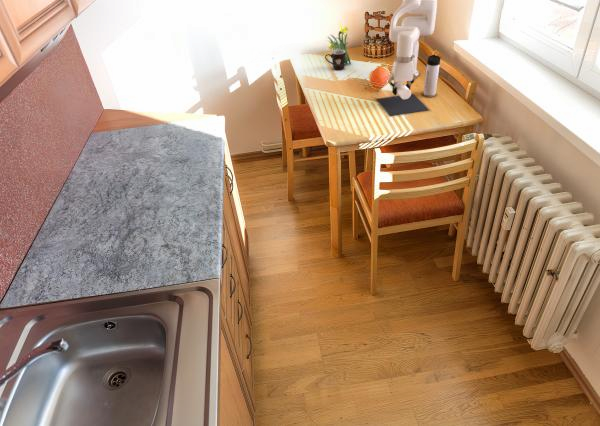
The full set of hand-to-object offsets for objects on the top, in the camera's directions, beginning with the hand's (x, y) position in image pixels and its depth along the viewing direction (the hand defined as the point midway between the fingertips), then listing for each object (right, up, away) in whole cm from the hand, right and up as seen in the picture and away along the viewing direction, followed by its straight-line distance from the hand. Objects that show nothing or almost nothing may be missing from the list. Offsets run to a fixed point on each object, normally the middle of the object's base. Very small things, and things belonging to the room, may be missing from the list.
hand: (400, 93), depth 228 cm
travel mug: (+17, +1, +9) cm, 19 cm away
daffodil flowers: (-24, +39, +60) cm, 75 cm away
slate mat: (+1, -6, +1) cm, 6 cm away
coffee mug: (-29, +27, +46) cm, 61 cm away
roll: (0, -1, +1) cm, 1 cm away
